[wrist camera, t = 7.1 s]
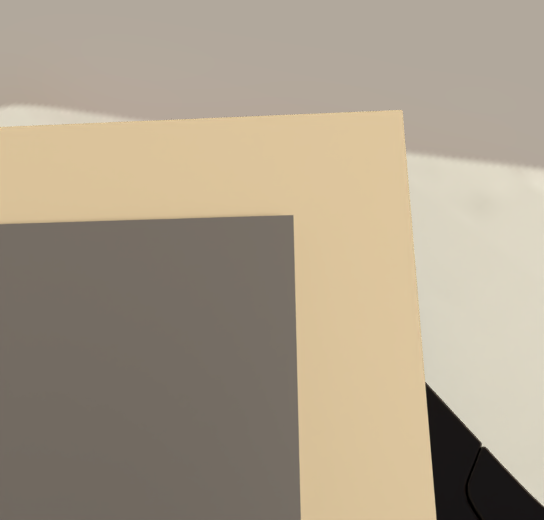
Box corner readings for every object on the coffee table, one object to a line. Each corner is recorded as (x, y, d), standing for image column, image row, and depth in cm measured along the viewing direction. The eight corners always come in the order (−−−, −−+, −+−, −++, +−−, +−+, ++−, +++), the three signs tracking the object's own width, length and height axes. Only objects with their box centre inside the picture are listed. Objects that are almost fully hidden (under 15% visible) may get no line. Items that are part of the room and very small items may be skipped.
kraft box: (329, 477, 14) (490, 1097, 2) (165, 477, 15) (-518, 1027, 2) (322, 310, 16) (404, 95, 3) (170, 314, 16) (-272, 125, 4)
